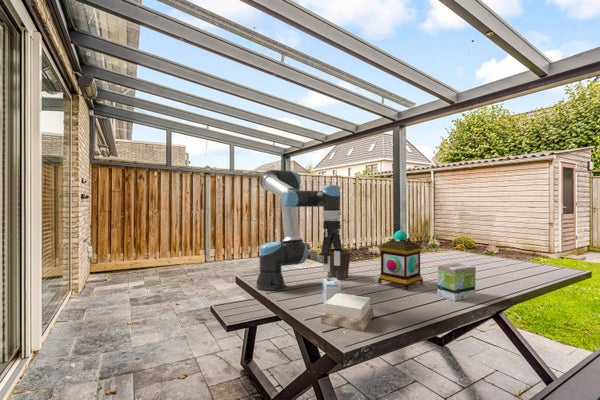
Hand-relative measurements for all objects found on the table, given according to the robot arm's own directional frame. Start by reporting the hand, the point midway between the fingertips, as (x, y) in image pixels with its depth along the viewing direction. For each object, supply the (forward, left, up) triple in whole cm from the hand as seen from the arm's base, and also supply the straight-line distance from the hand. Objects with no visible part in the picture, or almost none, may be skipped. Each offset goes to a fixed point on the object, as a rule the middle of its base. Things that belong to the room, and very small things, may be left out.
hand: (332, 268), depth 132 cm
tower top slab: (+11, -12, -13) cm, 21 cm away
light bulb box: (-1, +1, -17) cm, 17 cm away
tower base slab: (+11, -12, -17) cm, 23 cm away
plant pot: (-13, +47, -17) cm, 52 cm away
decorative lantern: (+23, +47, -17) cm, 55 cm away
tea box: (+50, +38, -17) cm, 65 cm away
